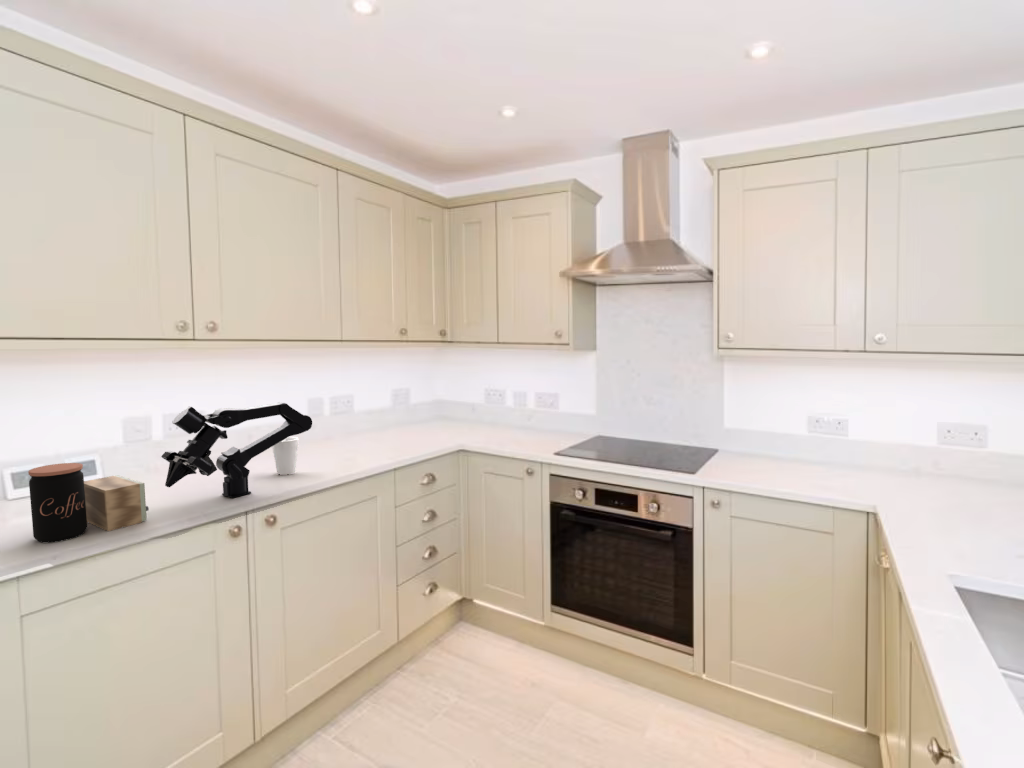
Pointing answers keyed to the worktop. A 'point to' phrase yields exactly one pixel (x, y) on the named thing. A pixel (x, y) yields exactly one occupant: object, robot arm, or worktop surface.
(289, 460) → the foam cup
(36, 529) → the coffee jar
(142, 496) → the door
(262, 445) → the robot arm
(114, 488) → the cabinet
